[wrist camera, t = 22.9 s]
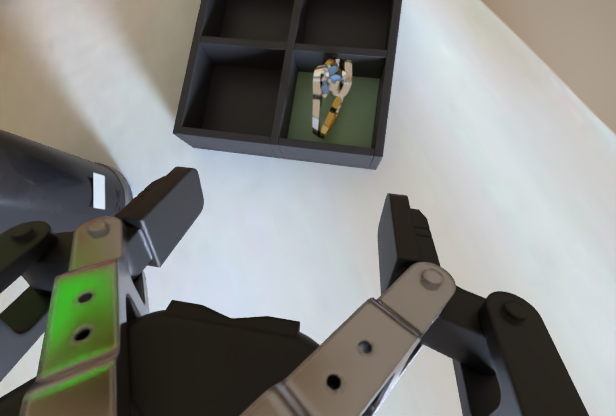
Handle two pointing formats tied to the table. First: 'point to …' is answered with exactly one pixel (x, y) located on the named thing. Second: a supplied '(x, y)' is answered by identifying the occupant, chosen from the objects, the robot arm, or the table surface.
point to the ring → (335, 87)
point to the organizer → (288, 78)
